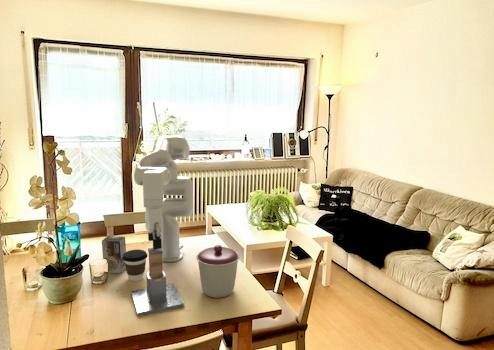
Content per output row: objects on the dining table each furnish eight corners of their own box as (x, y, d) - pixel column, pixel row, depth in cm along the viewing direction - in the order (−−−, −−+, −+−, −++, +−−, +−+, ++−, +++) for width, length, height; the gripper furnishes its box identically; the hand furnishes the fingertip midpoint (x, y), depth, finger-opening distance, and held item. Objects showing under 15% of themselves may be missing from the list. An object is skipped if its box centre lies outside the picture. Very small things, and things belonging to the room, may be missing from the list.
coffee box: (127, 268, 186) (125, 236, 183) (121, 274, 180) (120, 241, 176) (109, 267, 187) (107, 235, 184) (103, 272, 180) (101, 240, 177)
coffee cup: (141, 285, 169) (140, 259, 167) (118, 282, 171) (117, 257, 169) (152, 274, 180) (151, 250, 177) (130, 271, 182) (129, 248, 179)
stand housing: (131, 294, 161) (129, 269, 159) (173, 286, 168) (173, 262, 166) (137, 316, 145) (136, 288, 143) (184, 306, 152) (183, 280, 150)
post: (149, 294, 157) (148, 248, 153) (161, 292, 159) (160, 246, 155) (151, 300, 153) (150, 252, 149) (163, 297, 155) (162, 251, 151)
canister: (236, 280, 174) (236, 237, 170) (241, 301, 157) (242, 253, 153) (196, 283, 172) (195, 238, 168) (197, 304, 154) (196, 255, 150)
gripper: (140, 198, 155) (141, 238, 158) (147, 208, 139) (149, 253, 142) (158, 196, 158) (159, 236, 161) (168, 206, 142) (169, 250, 145)
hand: (154, 244), depth 151 cm, fingers open, 9 cm apart
